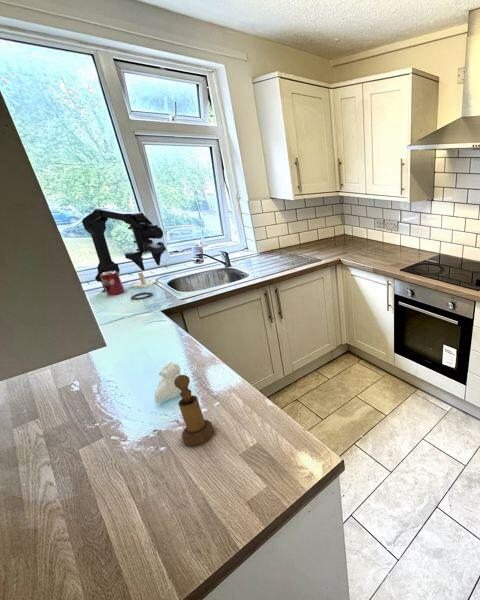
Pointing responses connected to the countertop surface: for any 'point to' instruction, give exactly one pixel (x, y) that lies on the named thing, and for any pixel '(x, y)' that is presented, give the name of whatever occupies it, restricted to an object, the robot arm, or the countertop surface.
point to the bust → (167, 383)
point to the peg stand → (143, 281)
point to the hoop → (142, 297)
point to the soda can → (112, 283)
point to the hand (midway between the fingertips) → (151, 267)
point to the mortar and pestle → (192, 415)
